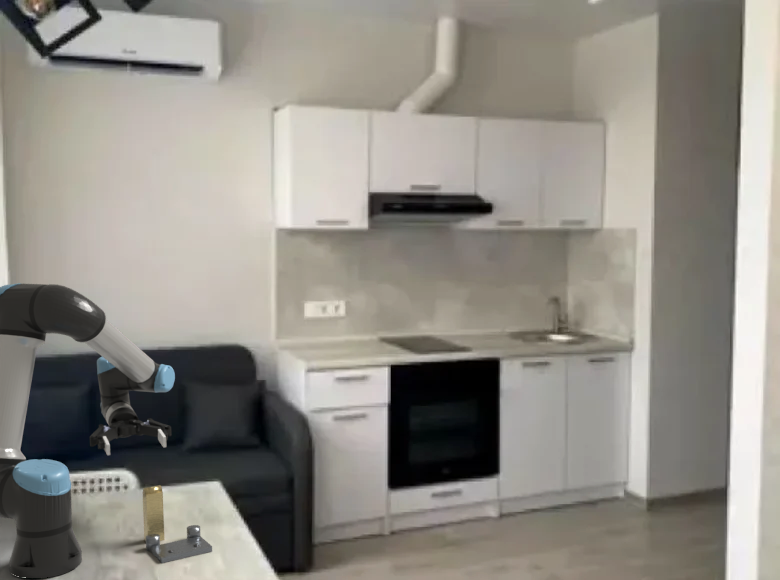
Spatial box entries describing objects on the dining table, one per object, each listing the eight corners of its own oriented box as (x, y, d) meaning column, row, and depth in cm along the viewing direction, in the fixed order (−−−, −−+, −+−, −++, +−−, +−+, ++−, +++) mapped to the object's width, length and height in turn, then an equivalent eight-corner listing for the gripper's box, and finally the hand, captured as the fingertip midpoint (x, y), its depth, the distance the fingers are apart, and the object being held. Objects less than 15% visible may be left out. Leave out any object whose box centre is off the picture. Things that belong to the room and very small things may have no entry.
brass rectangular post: (148, 543, 204) (146, 489, 203) (144, 539, 207) (142, 486, 206) (164, 539, 206) (162, 486, 205) (160, 536, 209) (158, 483, 208)
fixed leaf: (159, 563, 192) (158, 550, 192) (144, 547, 201) (143, 535, 201) (214, 550, 199) (214, 538, 199) (197, 536, 209) (197, 524, 208)
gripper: (169, 427, 236) (187, 453, 217) (74, 439, 225) (84, 468, 206) (168, 401, 234) (186, 425, 216) (72, 412, 223) (83, 438, 205)
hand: (137, 446), depth 211 cm, fingers open, 13 cm apart
